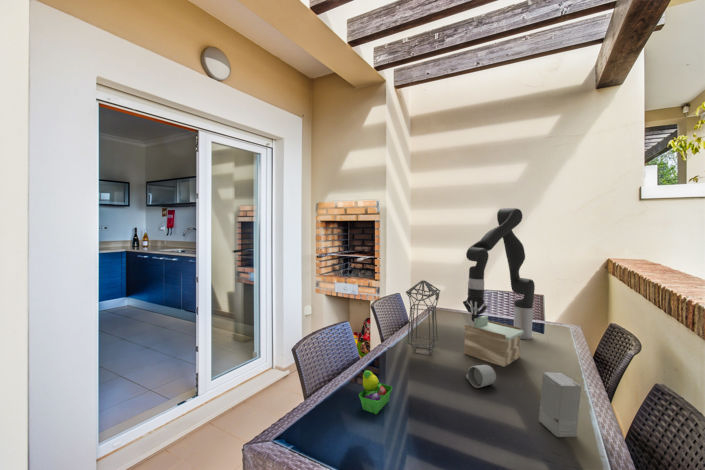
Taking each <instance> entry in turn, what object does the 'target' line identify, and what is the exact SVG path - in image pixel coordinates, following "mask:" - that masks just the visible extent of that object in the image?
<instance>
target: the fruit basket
mask: <svg viewBox="0 0 705 470" xmlns="http://www.w3.org/2000/svg"><path fill="white" fill-rule="evenodd" d="M362 386H363V388H364V389H363V390H362V391H361V392H359V394H358V397H359V400H360V402H361V403H360V404H361V406H362V407H361V408H362V409H363V411H366V412H368V413H369V412H370V413H373V414H375V415H377V414H378V413H379V412H380V411H381V410H382V409H383V408H384V407H385V406H386V404H387V403H389V400H390V397H391V396H390V395H391V393H392V390H393V386H391V385H387V384H385V383H381V382H380V381H379V379H378V377H377V376H376V375H375V374H374V373H373V372H372V371H371V370H367V369H366V370H364V372H363V374H362Z"/></svg>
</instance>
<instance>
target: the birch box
mask: <svg viewBox="0 0 705 470" xmlns="http://www.w3.org/2000/svg"><path fill="white" fill-rule="evenodd" d="M488 322H489V323H493V324H497V325H502V326H506V327H510V328H514V329H518V330H521V328H519V327H515V326H514V325H510V324H507V323H501V322H496V321H492V320H489V319H488ZM505 338H506V335H503V334H499V333H495V332H491V331H488V330H484V329H480V328H476V327H474V326H472V325H469V324H468V325H467V324H464V351H463V352H464V353H463V354H465V355H467V356H470V357H473V358H477V359H480V360H482V361H485V362H488V363H492V364H494V365H498V366H500V367H504V368H505V367H507V366H509V365H510V364H511V363H513V362H514V361H516V360H518V359H519V358H520V357H521V339H520V335H519V336H518V337H516V338H514V339H512V340H510V341H509V340H505Z"/></svg>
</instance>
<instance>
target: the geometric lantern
mask: <svg viewBox="0 0 705 470" xmlns="http://www.w3.org/2000/svg"><path fill="white" fill-rule="evenodd" d="M418 286H419V287H418ZM417 287H418V288H417ZM425 287H426V288H427V290H425ZM413 290H414V291H416V292H413ZM420 291H421V292H420ZM440 292H441V289H439V288H437V287H436V286H434V285H433V284H431V283H429V282H428V281H427V280H424V279H422V280H420V281H419V282H417V283H416V284H415V285H414V286H412V287H411V288H409V289H407V290H406V291H405V294H406V295H407V297H408V299H409V319H408V329H407V330H408V331H407V341H406V342H407V344H408V345H410V346H411V348H413V353H414V354H418V355H419V354H420V355H426V356H430V355H432V352H433V349H434V348H435V347H436V345H437V344H438V341H439V339H438V338H439V337H438V326H437V325H438V324H437V305H438V302H439V299H440ZM427 293H429V294H427ZM414 295H415V296H416V297H415V296H414ZM418 295H420V296H421V297H420V299H419V298H418ZM434 296H435V299H434V300H433V302H432V301H431V297H434ZM424 297H425V298H424ZM414 299H415V301H414ZM427 299H429V302H430V304H431V305H430V304H427V303H426V300H427ZM411 301H412V302H411ZM421 301H422V302H424V306H426V308H427V309H423V308H419V306H423V304H421V303H420V302H421ZM416 302H417V303H416ZM412 303H413V304H412ZM434 304H435V305H434ZM415 307H416V308H415ZM430 307H431V308H430ZM415 310H416V318H415ZM419 311H427V312H428V318H427V319H428V337H424V336H423V337H422V336H418V320H419V318H418V317H419ZM430 312H431V319H430ZM415 319H416V320H415ZM430 320H432V321H431V322H432V337H431V322H430ZM415 321H416V325H415V336H413V335H414V322H415ZM435 334H436V335H435ZM435 336H436V338H435ZM417 338H418V339H425V340H428V343H422V344H421V343H418V339H417ZM431 340H432V341H431ZM432 343H433V344H432ZM417 350H421V351H428V353H424V352H423V353H422V352H417Z"/></svg>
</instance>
